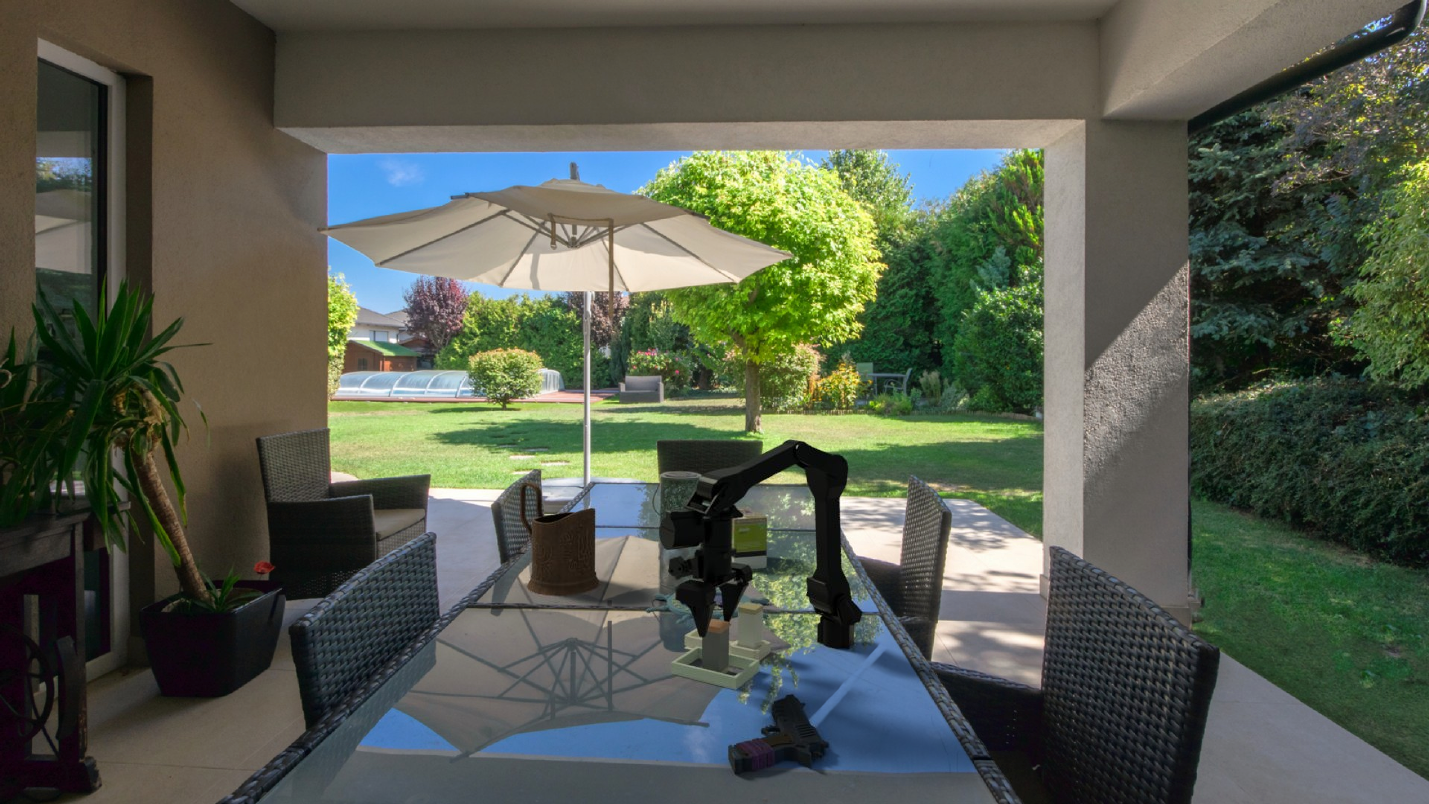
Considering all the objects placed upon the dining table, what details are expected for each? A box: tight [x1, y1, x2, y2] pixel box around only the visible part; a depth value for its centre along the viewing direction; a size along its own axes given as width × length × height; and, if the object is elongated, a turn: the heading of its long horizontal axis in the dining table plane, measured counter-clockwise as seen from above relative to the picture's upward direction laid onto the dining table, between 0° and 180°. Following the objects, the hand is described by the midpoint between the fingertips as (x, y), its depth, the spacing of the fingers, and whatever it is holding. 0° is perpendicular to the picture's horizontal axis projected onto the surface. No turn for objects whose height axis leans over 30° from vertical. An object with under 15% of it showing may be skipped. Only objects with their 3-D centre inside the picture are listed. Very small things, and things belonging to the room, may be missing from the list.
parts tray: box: [670, 646, 760, 691], centre depth 138 cm, size 13×9×3 cm
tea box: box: [732, 506, 768, 570], centre depth 217 cm, size 15×10×15 cm
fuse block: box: [684, 628, 772, 662], centre depth 149 cm, size 16×8×3 cm, turn 61°
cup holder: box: [519, 482, 601, 597], centre depth 194 cm, size 18×24×25 cm
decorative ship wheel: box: [645, 588, 770, 627], centre depth 176 cm, size 30×3×30 cm
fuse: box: [737, 602, 764, 650], centre depth 146 cm, size 4×4×9 cm
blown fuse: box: [701, 619, 730, 674], centre depth 137 cm, size 4×4×9 cm
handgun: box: [727, 693, 830, 775], centre depth 116 cm, size 3×20×15 cm
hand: (714, 629), depth 137 cm, fingers open, 9 cm apart
